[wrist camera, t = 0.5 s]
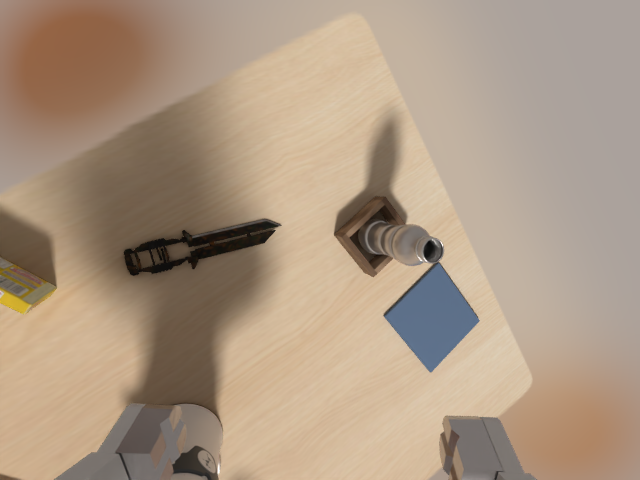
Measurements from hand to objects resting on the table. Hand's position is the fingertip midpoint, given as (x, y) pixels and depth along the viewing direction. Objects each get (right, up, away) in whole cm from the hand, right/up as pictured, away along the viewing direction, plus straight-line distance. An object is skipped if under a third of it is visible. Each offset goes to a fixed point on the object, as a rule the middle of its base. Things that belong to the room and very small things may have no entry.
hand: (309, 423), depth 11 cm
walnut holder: (+10, +7, +57) cm, 59 cm away
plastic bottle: (+10, +7, +58) cm, 59 cm away
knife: (-19, +5, +49) cm, 53 cm away
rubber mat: (+25, -11, +65) cm, 70 cm away
